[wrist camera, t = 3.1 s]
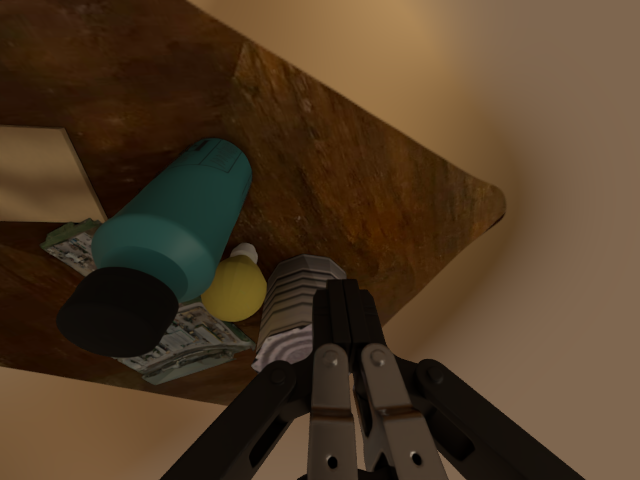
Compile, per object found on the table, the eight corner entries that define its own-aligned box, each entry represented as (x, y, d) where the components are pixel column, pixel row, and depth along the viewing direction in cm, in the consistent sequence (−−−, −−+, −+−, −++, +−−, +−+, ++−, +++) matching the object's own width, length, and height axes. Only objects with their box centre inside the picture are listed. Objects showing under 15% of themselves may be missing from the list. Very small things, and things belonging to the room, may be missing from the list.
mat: (-104, 120, 23) (-113, 121, 23) (64, 127, 24) (59, 129, 24) (-25, 217, 29) (-31, 220, 29) (108, 220, 30) (105, 223, 30)
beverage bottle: (220, 116, 24) (52, 246, 8) (270, 171, 28) (220, 342, 11) (176, 158, 26) (-29, 330, 10) (227, 205, 30) (133, 391, 13)
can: (251, 270, 35) (231, 353, 26) (330, 241, 33) (340, 320, 23) (290, 319, 42) (285, 401, 32) (358, 297, 39) (375, 378, 30)
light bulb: (283, 252, 34) (277, 315, 26) (248, 277, 36) (231, 343, 28) (243, 218, 31) (221, 278, 23) (207, 248, 33) (175, 312, 25)
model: (99, 205, 28) (89, 213, 27) (255, 344, 45) (254, 352, 44) (-25, 273, 33) (-39, 282, 32) (159, 376, 50) (155, 385, 48)
